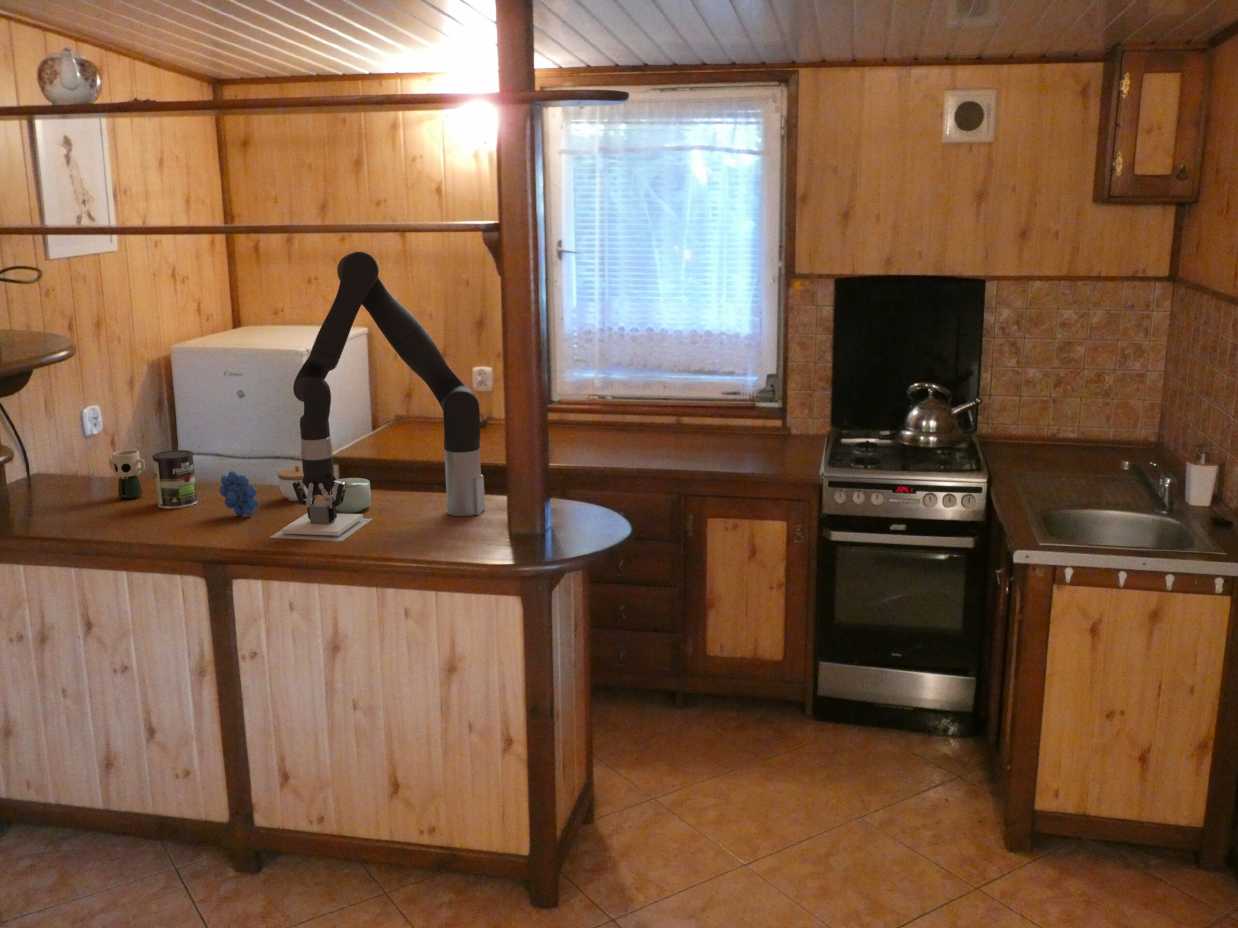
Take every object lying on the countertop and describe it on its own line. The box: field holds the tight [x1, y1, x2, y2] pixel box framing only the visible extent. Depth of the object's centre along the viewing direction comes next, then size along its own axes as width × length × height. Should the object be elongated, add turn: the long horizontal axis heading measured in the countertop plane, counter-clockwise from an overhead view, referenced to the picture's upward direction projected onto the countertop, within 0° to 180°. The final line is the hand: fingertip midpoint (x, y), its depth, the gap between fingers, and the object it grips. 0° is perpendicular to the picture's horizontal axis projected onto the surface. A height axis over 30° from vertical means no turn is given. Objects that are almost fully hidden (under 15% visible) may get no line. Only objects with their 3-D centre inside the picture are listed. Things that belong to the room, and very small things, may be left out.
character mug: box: [108, 449, 146, 500], centre depth 312 cm, size 11×7×13 cm, turn 79°
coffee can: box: [151, 449, 199, 510], centre depth 305 cm, size 10×10×14 cm
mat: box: [269, 517, 373, 542], centre depth 282 cm, size 19×19×1 cm
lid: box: [280, 501, 364, 536], centre depth 281 cm, size 15×15×6 cm
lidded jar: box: [277, 465, 308, 502], centre depth 310 cm, size 11×11×9 cm
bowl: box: [332, 477, 372, 514], centre depth 298 cm, size 11×11×8 cm
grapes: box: [219, 470, 259, 517], centre depth 293 cm, size 12×7×12 cm, turn 70°
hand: (322, 520), depth 282 cm, fingers closed on lid, 4 cm apart
